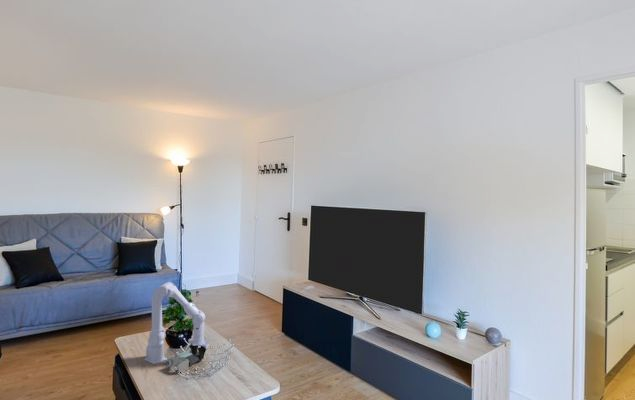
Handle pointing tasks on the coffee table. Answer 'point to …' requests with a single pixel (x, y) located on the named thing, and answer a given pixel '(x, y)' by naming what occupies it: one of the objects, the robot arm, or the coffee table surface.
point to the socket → (178, 364)
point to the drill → (193, 358)
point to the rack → (183, 355)
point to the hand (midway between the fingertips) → (198, 357)
